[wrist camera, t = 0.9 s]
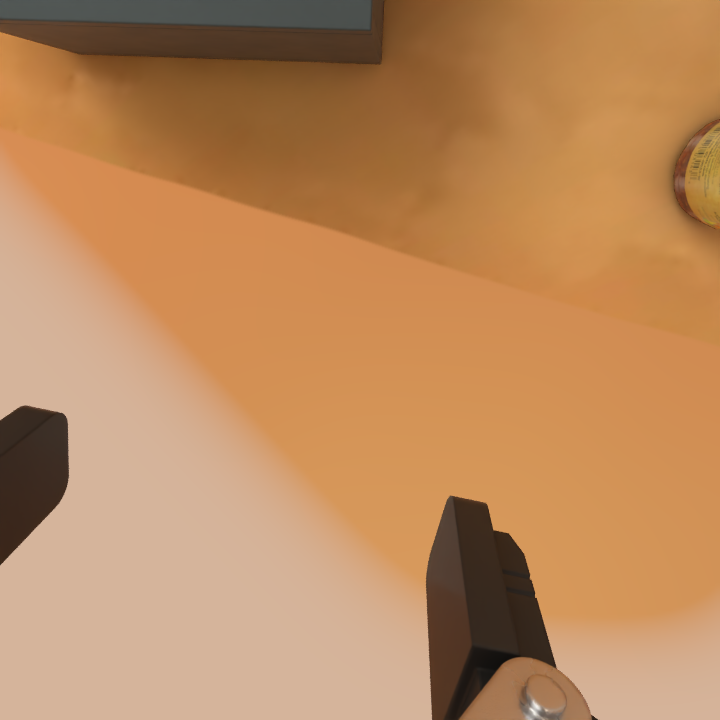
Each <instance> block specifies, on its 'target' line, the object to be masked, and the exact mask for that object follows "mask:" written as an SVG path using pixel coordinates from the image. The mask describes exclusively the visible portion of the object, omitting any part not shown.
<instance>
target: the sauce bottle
mask: <svg viewBox="0 0 720 720" xmlns="http://www.w3.org/2000/svg"><path fill="white" fill-rule="evenodd" d="M674 191H675V193H676V196H677V200H678V202H679V204H680V206H681V207H682V209H683V210H684V211H686V213H688V214H689V215H690V216H692V217H694V218H696V219H698V220H699V221H700V222H702V223H705V224H707V225H709V226H711V227H713V228H716V229H720V120H716V121H713V122H711V123H709V124H708V125H706V126H705V127H704V128H703V129H701V130H700V131H699V132H698V133H696V134H695V136H694V137H693V138H692V139H691V140H690V141H689V143H688V145H687V146H686V148H685V149H684V151H683V152H682V153H681V155H680V157H679V159H678V162H677V164H676V168H675V173H674Z"/></svg>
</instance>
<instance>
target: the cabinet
mask: <svg viewBox="0 0 720 720" xmlns="http://www.w3.org/2000/svg"><path fill="white" fill-rule="evenodd" d="M383 14H384V0H0V32H3V33H6V34H10V35H13V36H17V37H20V38H24V39H27V40H31V41H35V42H38V43H42V44H45V45H49V46H52V47H56V48H59V49H63V50H67V51H70V52H74V53H77V54H87V55H117V56H147V57H177V58H207V59H237V60H267V61H297V62H327V63H357V64H381V57H382V35H383Z"/></svg>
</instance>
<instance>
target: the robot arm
mask: <svg viewBox="0 0 720 720" xmlns="http://www.w3.org/2000/svg"><path fill="white" fill-rule="evenodd" d="M68 464H69V463H68V423H67V418H66V416H65V415H64V414H63V413H59V412H54V411H50V410H45V409H40V408H35V407H31V406H21V407H19V408H17V409H16V410H15V411H13V412H12V413H10V414H9V415H7V416H6V417H4V418H3V419H2V420H0V565H1V564H2V563H3V562H4V561H5V560H6V559H7V558H8V556H9V555H10V554H11V553H12V552H13V551H14V550H15V549H16V548H17V547H18V546H19V545H20V544H21V543H22V542H23V541H24V540H25V539H26V538H27V537H28V536H29V535H30V533H31V532H32V531H33V530H34V529H35V528H36V527H37V526H38V525H39V524H40V523H41V522H42V521H43V520H44V519H45V518H46V517H47V516H48V515H49V513H50V512H52V510H53V509H54V508H55V507H56V506H57V505H58V504H59V502H60V501H61V499H62V497H63V495H64V493H65V490H66V487H67V483H68V478H69V465H68ZM426 591H427V592H426V593H427V614H428V638H429V659H430V679H431V680H430V681H431V703H432V720H598V719H596V718H595V717H594V716H592V715H591V714H590V710H589V707H588V705H587V703H586V701H585V699H584V697H583V695H582V694H581V692H580V691H579V690H578V688H577V687H576V686H575V685H574V684H573V683H572V681H571V680H570V679H569V678H567V677H566V676H565V675H564V674H563V673H562V672H560V671H559V670H557V668H556V664H555V661H554V657H553V654H552V650H551V647H550V643H549V640H548V636H547V633H546V629H545V626H544V622H543V619H542V615H541V612H540V609H539V605H538V601H537V598H535V591H534V587H533V584H532V581H531V580H530V573H529V570H528V566H527V563H526V559H525V556H524V553H523V552H522V551H521V549H520V548H519V547H518V546H517V544H516V543H515V541H514V540H513V539H512V537H511V536H510V535H509V534H508V533H503V532H499V531H494V530H493V527H492V523H491V518H490V514H489V509H488V506H487V504H486V503H483V502H479V501H474V500H469V499H464V498H459V497H455V496H450V497H449V498H448V499H447V502H446V505H445V508H444V511H443V514H442V517H441V521H440V524H439V527H438V530H437V533H436V537H435V540H434V543H433V546H432V550H431V553H430V557H429V561H428V568H427V576H426Z"/></svg>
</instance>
